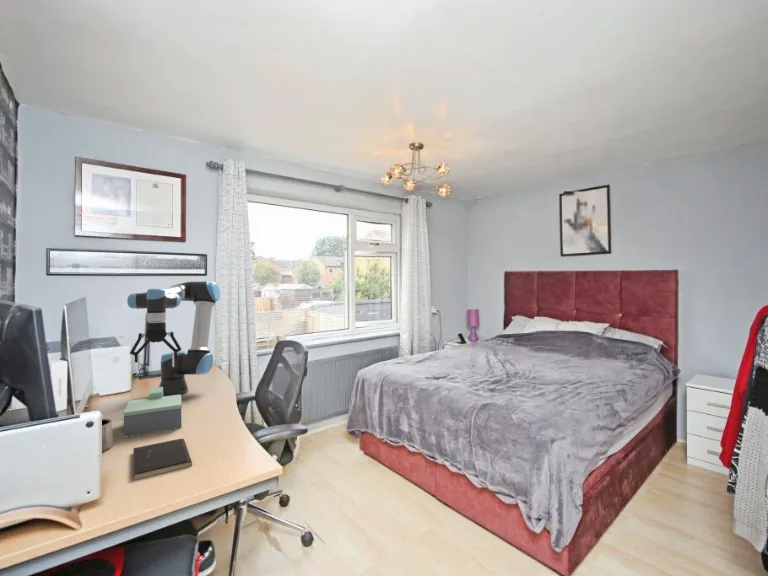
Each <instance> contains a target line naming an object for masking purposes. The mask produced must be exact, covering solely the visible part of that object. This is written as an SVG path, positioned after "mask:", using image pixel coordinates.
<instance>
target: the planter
mask: <svg viewBox="0 0 768 576" xmlns="http://www.w3.org/2000/svg"><path fill="white" fill-rule="evenodd" d="M101 419H102V451H103V452H106V451H108V450H109V449H110V448H111V447H112V446H113V421H112V419H110V418H101ZM107 449H108V450H107ZM105 450H106V451H105ZM103 452H102V453H103Z"/></svg>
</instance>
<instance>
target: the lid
mask: <svg viewBox="0 0 768 576" xmlns="http://www.w3.org/2000/svg"><path fill="white" fill-rule="evenodd" d="M180 408H181V409H182V395H181V394H180V395H172V396H164V397H163V387H159V386H158V387H157V386H156V387H151V388H150V390H149V393H148V398H143V399H134V400H133V399H132V400H128V403H127V405H126V407H125V409H124V411H123V417H124V416H130V415H137V414H144V413H151V412H158V411H165V410H172V409H180Z"/></svg>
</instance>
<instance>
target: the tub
mask: <svg viewBox="0 0 768 576" xmlns="http://www.w3.org/2000/svg"><path fill="white" fill-rule="evenodd" d="M175 428H177V429H181V428H182V407H181V408H180V409H172V410H165V411H158V412H151V413H144V414H137V415H130V416H124V415H123V437H124V438H126V437H125V436H128V437H132V436H131V435H134V436H139V435H138V434H140V435H145V434H144V433H146V434H151V433H157V432H164V430H165V431H169V430H170V429H171V430H176V429H175ZM171 430H170V431H171Z"/></svg>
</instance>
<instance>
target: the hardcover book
mask: <svg viewBox="0 0 768 576" xmlns="http://www.w3.org/2000/svg"><path fill="white" fill-rule="evenodd" d="M132 461H133V464H132V465H133V470H132V472H133V473H132V475H133V476H134V480H138V479H142V478H147V477H149V476H154V475H158V474H162V473H167V472H171V471H175V470H176V471H177V470H179V469H184V468H187V467H192V466H193V463H192V459H191V455H190V453H189V450H188V446H187V443H186V441H185V439H184V437H182V438H177V439H173V440H166V441H162V442H157V443H153V444H148V445H143V446H138V447H134V448H133V460H132Z"/></svg>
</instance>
